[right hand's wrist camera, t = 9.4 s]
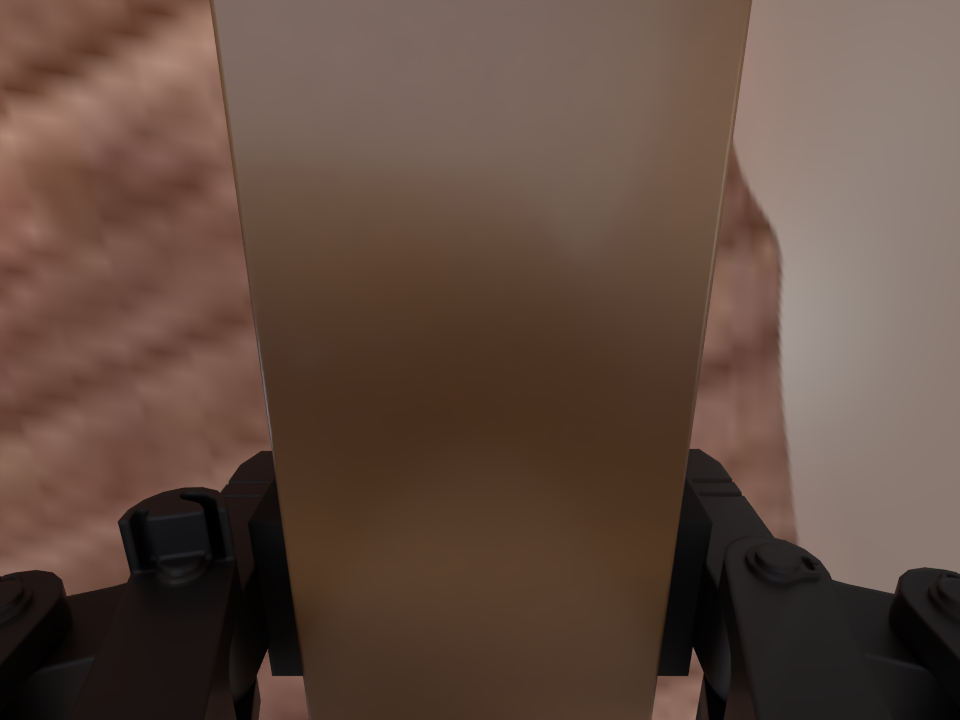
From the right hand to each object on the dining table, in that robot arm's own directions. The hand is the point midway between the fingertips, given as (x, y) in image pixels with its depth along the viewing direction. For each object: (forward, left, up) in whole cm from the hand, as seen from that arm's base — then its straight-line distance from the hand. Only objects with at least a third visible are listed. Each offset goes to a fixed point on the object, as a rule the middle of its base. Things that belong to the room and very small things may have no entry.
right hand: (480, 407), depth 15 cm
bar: (+7, -20, -1) cm, 21 cm away
